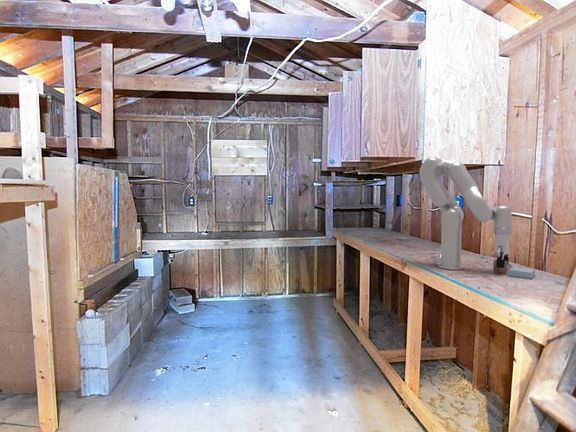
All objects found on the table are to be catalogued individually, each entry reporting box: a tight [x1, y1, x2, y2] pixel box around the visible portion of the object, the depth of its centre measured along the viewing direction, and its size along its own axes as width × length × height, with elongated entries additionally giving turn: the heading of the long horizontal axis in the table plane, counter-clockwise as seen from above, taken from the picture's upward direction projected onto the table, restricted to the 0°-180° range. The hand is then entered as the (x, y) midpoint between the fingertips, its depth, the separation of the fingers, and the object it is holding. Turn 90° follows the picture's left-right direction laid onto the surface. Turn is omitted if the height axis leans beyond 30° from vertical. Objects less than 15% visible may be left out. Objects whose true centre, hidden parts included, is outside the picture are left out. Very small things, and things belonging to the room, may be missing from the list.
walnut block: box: [492, 259, 508, 275], centre depth 171 cm, size 5×5×6 cm
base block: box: [507, 266, 536, 280], centre depth 165 cm, size 9×9×3 cm
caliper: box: [495, 254, 517, 268], centre depth 184 cm, size 20×1×6 cm, turn 178°
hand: (502, 265), depth 171 cm, fingers open, 9 cm apart
